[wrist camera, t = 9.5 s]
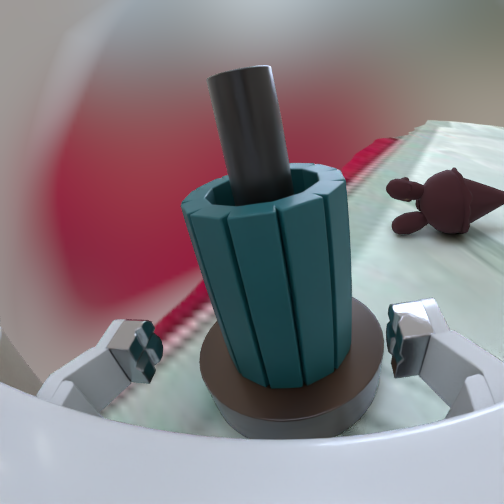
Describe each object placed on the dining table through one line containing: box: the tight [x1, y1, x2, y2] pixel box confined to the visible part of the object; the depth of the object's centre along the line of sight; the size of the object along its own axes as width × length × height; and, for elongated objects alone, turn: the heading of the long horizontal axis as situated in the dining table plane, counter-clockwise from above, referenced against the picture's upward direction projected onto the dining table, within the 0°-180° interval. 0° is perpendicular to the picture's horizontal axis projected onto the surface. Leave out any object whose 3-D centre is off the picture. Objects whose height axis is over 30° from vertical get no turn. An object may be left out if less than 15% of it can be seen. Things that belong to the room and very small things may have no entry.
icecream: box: [386, 167, 504, 235], centre depth 26 cm, size 7×7×15 cm
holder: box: [200, 66, 384, 440], centre depth 13 cm, size 10×10×16 cm
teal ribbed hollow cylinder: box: [181, 163, 352, 388], centre depth 14 cm, size 6×6×8 cm
